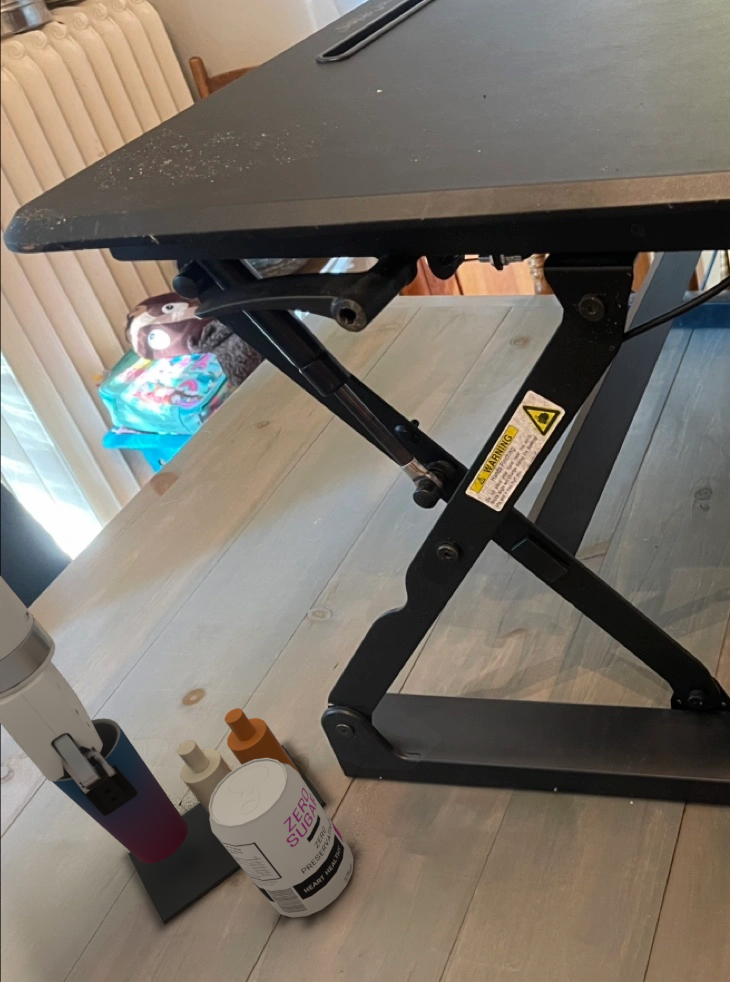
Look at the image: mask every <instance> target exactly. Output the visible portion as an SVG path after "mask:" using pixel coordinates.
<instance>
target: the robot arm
mask: <svg viewBox="0 0 730 982" xmlns="http://www.w3.org/2000/svg"><path fill="white" fill-rule="evenodd" d="M55 651H56V643H55V641H54V639H53V638H52V636H51V635H50V634H49V633H48V631H46V629H45V628H44V626H42V624H41V623H40V622H39V621H38V620H37V619H36V617H35V616H34V614H32V613H31V611H30V610H29V609H28V607H27V606H26V605H25V604H24V603H23V601H22V600H21V599H20V598H19V597H18V595H17V594H16V593H15V592H14V591H13V590H12V588H11V587H10V586H9V584H8V583H7V582H6V581H5V579H4V578H3V577H2V576H1V575H0V724H1V726H2V728H4V730H5V731H6V732H7V733H8V735H9V736H10V737H11V738H12V740H13V741H14V742H15V743H16V744H17V745H18V747H19V748H20V749H21V751H23V752H24V754H25V755H26V756H27V757H28V759H30V761H31V762H32V763H33V765H35V767H36V768H37V769H38V770H39V771H40V773H41V774H42V776H44V777H45V779H46V780H47V781H48V782H52V781H57V780H58V779H59V778H61V777H62V776H64V771H63V767H64V768H65V770H66V771H67V772H68V773H69V774H70V776H71V777H72V778H73V779H74V781H75V782H76V783H77V784H78V786H79V787H80V790H81V792H82V793H83V794H84V795H85V796H86V797H87V798H88V799H89V800H90V801H91V803H92V804H93V805H94V806H95V807H96V808H97V809H98V810H99V811H100V812H101V813H102V815H104V816H107V815H109V814H111V813H112V812H113V811H115V810H116V809H118V808H119V807H121V806H122V805H124V804H125V803H127V802H128V801H130V800H131V799H133V798H134V797H135V796H136V795H137V793H138V792H137V790H136V789H135V787H134V786H133V785H132V784H131V783H130V781H129V780H128V779H127V778H126V777H125V776H124V775H123V773H122V772H121V771H120V770H119V769H118V768H117V766H116V765H115V766H113V767H112V766H111V765H110V764H109V762H108V761H107V760H106V759H105V757H104V756H103V755H102V753H101V752H100V751H101V749H102V746H103V744H102V741H101V739H100V737H99V735H98V733H97V731H96V729H95V727H94V725H93V723H92V721H91V720H92V719H91V718H90V715H89V714H88V712H87V709H86V708H85V706H84V705H83V703H82V701H81V699H80V697H79V696H78V695H77V693H76V692H75V690H74V689H73V687H72V686H71V684H70V683H69V682H68V680H67V679H66V678H65V676H64V675H63V674H62V672H61V671H60V670H59V669H58V668H57V667H56V666H55V664H54V663H53V661H52V660H53V657H54V655H55ZM82 746H83V747H86V748H88V749H87V750H85V751H84V752H82V751H81V750H80V748H81V747H82ZM92 757H94V758H95V759H96V760H97V762H98V763H99V764H100V766H101V767H100V766H98V767H96V768H94V767H93V766H92V765H91V764H90V763H89V761H88V760H89V759H91V758H92Z"/></svg>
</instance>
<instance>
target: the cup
mask: <svg viewBox="0 0 730 982" xmlns="http://www.w3.org/2000/svg"><path fill="white" fill-rule="evenodd" d="M91 721H92V723H93V725H94V727H95V729H96V731H97V733H98V735H99V737H100V739H101V741H102V744H103V746H102V749H101V751H100V752H101V753H102V755H103V756H104V757H105V759H106V760H107V761H108V762H109V764H110V765H111V766H112V767H113V766H115V765H116V766H117V768H118V769H119V770H120V771H121V772H122V773H123V775H124V776H125V777H126V778H127V779H128V780H129V781H130V783H131V784H132V785H133V786H134V787H135V789H136V790H137V792H138V793H137V795H136V796H135V797H134V798H133V799H131V800H130V801H128V802H127V803H125V804H124V805H122V806H121V807H119V808H118V809H116V810H115V811H113V812H112V813H111V814H109V815H107V816H104V815H102V813H101V812H100V811H99V810H98V809H97V808H96V807H95V806H94V805H93V804H92V803H91V801H90V800H89V799H88V798H87V797H86V796H85V795H84V794H83V793H82V792H81V790H80V787H79V786H78V784H77V783H76V782H75V781H74V779H73V778H72V777H71V776H70V774H69V773H68V772H67V771H66V770H65V768H64V767H63V771H64V776H62V777H61V778H59V779H58V780H57V781H51V783H52V784H54V785H55V787H57V788H58V789H60V791H62V792H63V793H64V794H65V795H66V796H67V797H68V798H69V799H70V800H72V801H73V802H74V803H75V804H76V805H77V806H78V807H79V808H81V809H82V811H84V812H85V813H86V814H87V815H88V816H90V817H91V818H92V819H93V820H94V821H95V822H96V823H98V824H99V826H101V827H102V828H103V829H104V830H105V831H106V832H107V833H109V835H110V836H112V837H113V838H114V839H115V840H116V841H117V842H118V843H120V844H121V845H122V846H123V847H124V848H125V849H127V850H128V852H129V853H130V852H131V853H132V854H133V855H134V856H136V857H137V858H138V859H139V860H140V861H142V862H144V863H155V862H159V861H161V860H164V859H165V858H167V857H169V856H170V855H172V854H173V853H174V852H175V851H176V850H177V849H178V848H179V847H180V846H181V844H182V843H183V842H184V840H185V838H186V835H187V829H188V828H187V824H186V822H185V821H184V819H183V818H182V815H181V813H180V812H179V810H178V809H177V808H176V806H175V804H174V803H173V802H172V801H171V799H170V798H169V796H168V795H167V793H166V791H165V790H164V788H163V787H162V785H161V784H160V782H159V781H158V780H157V779H156V777H155V776H154V774H153V772H152V771H151V770H150V768H149V767H148V765H147V764H146V762H145V760H144V759H143V758H142V756H141V755H140V754H139V752H138V751H137V749H136V748H135V746H134V744H133V743H132V742H131V740H130V739H129V738H128V736H127V734H126V733H125V732H124V730H123V729H122V728H121V726H120V724H119V723H118V722H117V721H115V720H114V719H110V718H104V717H103V718H96V719H91ZM87 749H88V748H86V747H83V746H82V747H81V748H80V750H81V751H82V752H84V751H85V750H87ZM88 761H89V763H90V764H91V765H92V766H93V767H94V768H96V767H98V766H100V764H99V763H98V762H97V760H96V759H95V758H94V757H92V758H91V759H89V760H88ZM100 767H101V766H100Z"/></svg>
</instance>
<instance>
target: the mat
mask: <svg viewBox="0 0 730 982" xmlns="http://www.w3.org/2000/svg"><path fill="white" fill-rule="evenodd" d="M281 746H282V747H283V749H284V750H285V752H286V753H287V755H288V756H289V758H290V759H291V761H292V762H293V763H294V765H295V766H296V768H297V769H298V771H299V772H300V774H301V776H302V779H303V781H304V782H305V783H306V785H307V786H308V788H309V789H310V791H311V792H312V794H313V795H314V797H315V798H316V799H317V801H318V802H319V804H320V805H321V807H322V808H323V807H324V806H325V805H327V804H326V802H325V800H324V799H323V798H322V797H321V795H320V794H319V792H318V791H317V790H316V788H315V787H314V786H313V785H312V783H311V781H310V780H309V779H308V777H307V776H306V774H305V773H304V772H303V771H302V770H301V767H299V765H298V764H297V762H296V761H295V759H294V758H293V757H292V756H291V754H290V753H289V752H288V750H287V749H286V747H285V746H284V745H282V744H281ZM181 816H182V818H183V819H184V821H185V822H186V824H187V828H188V829H187V835H186V838H185V840H184V842H183V843H182V844H181V846H180V847H179V848H178V849H177V850H176V851H175V852H174V853H173V854H172V855H170V856H169V857H167V858H165V859H164V860H161V861H159V862H155V863H144V862H142V861H140V860H139V859H138V858H137V857H136V856H134V855H133V854H132V853H131V852H130V851H129V853H127V854H128V857H129V858H130V860H131V862H132V864H133V866H134V868H135V871H136V872H137V874H138V876H139V879H140V880H141V882H142V884H143V887H144V888H145V890H146V892H147V895H148V897H149V898H150V900H151V902H152V905H153V906H154V909H155V910H156V912H157V914H158V917H159V918H160V921H161V922H162V924H163V925H167V924H168V923H170V921H172V920H173V919H174V918H176V917H177V916H179V915H180V914H181V913H183V912H184V911H185V910H186V909H188V908H189V907H191V906H192V905H194V904H195V903H196V902H197V901H198V900H200V899H201V898H203V897H204V896H205V895H207V894H208V893H209V892H211V891H212V890H213V889H214V888H216V887H217V886H218V885H221V883H223V882H224V881H225V880H227V879H228V878H229V877H231V876H232V875H233V874H235V873H236V872H237V871H239V870H240V869H242V868H241V866H240V865H239V864H238V863H237V861H236V860H235V859H234V858H233V857H232V855H231V854H230V853H229V852H228V850H227V849H226V848H225V847H224V845H223V844H222V843H221V842H220V841H219V839H218V838H217V837H216V836H215V834H214V833H213V832H212V829H211V825H210V820H209V819H210V814H209V813H208V812H207V811H206V809H205V808H204V807H203V806H202V804H201V803H200V802H199V803H198V804H196V805H194V806H193V807H192V808H191V809H189V810H188V811H186V812H185V813H184V814H182V815H181Z"/></svg>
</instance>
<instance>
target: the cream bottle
mask: <svg viewBox="0 0 730 982" xmlns="http://www.w3.org/2000/svg"><path fill="white" fill-rule="evenodd" d="M176 753H177V755H178V756H179V758H180V759H181V760H182V761H183V763H184V764H183V765H182V767H181V769H180V773H179V776H180V779H181V781H182V782H183V783H184V784H185V786H186V787H187V788H188V790H189V791H190V792H191V793H192V795H193V796H194V797H195V798H196V800H197V801H198V802H199V803H201V804H202V806H203V807H204V808H205V809H206V811H207V812H208V813H209V814H210V811H209V804H210V799H211V795H212V794H213V792H214V790H215V789H216V787H217V785H218V784H219V783H220V782H221V781H222V780H223V779H224V778H225V777H226V775H227V774H228V773H230V772H231V771H233V770H234V769H232V768H231V766H230V765H229V764H228V762H227V761H226V760H225V758H224V757H223V755H222V754H221V753H220V752H219V751H218V750H217V749H214V748H207V749H201V747H200V746H199V745H198V743H197V742H196V741H195V740H193V739H188V740H185V741H184V742H182V743H181V744H180V745H179V746H178V748H177V750H176Z"/></svg>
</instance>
